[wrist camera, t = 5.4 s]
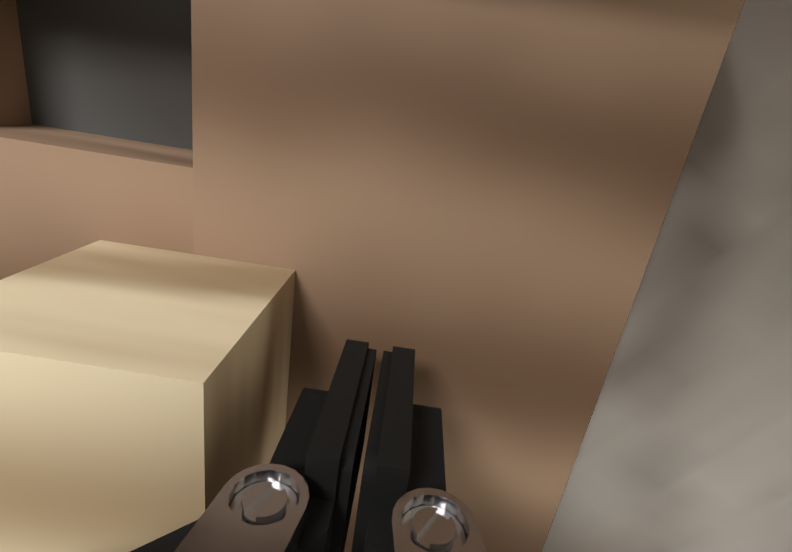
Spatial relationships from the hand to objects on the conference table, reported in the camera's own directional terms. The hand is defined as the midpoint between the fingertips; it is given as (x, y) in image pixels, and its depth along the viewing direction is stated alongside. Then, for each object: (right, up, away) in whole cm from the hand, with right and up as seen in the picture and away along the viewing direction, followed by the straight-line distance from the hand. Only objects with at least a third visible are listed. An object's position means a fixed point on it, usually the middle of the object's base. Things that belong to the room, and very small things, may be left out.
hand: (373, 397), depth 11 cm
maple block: (-5, +1, +1) cm, 5 cm away
